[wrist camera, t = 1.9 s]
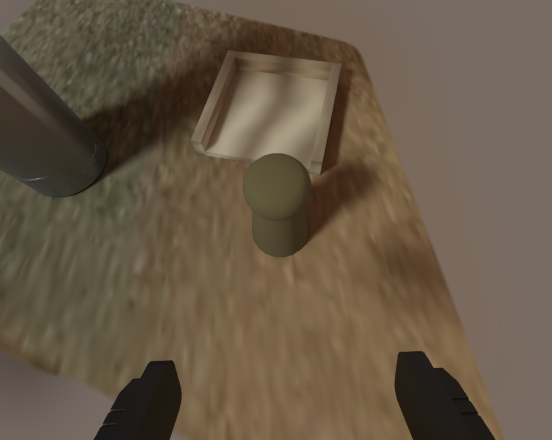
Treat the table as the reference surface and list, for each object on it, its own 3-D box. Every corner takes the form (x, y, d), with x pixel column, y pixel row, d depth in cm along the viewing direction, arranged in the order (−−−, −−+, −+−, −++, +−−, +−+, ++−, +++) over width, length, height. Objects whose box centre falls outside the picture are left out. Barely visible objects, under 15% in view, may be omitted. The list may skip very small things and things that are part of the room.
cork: (241, 240, 30) (216, 189, 20) (270, 195, 32) (261, 128, 22) (291, 267, 28) (292, 229, 18) (318, 219, 30) (333, 160, 20)
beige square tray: (197, 153, 34) (190, 140, 32) (231, 66, 40) (228, 50, 37) (320, 174, 32) (322, 162, 30) (338, 80, 38) (341, 63, 36)
